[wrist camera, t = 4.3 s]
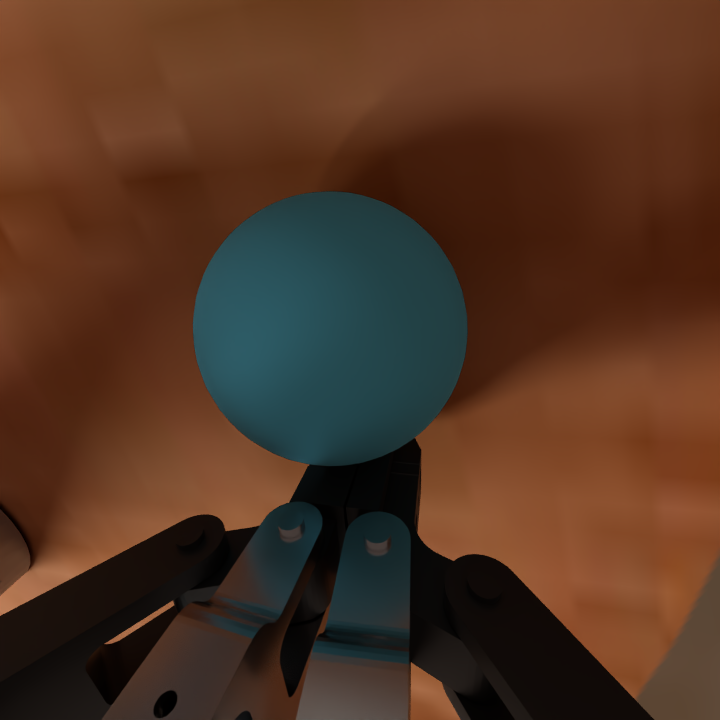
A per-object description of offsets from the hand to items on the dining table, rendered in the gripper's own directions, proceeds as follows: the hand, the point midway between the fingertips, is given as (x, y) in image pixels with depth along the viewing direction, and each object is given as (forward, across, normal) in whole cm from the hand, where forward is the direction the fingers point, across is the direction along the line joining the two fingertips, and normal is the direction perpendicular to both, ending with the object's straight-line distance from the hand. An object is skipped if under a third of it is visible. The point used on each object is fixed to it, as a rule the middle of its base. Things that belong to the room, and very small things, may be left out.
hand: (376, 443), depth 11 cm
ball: (-1, +1, -4) cm, 4 cm away
